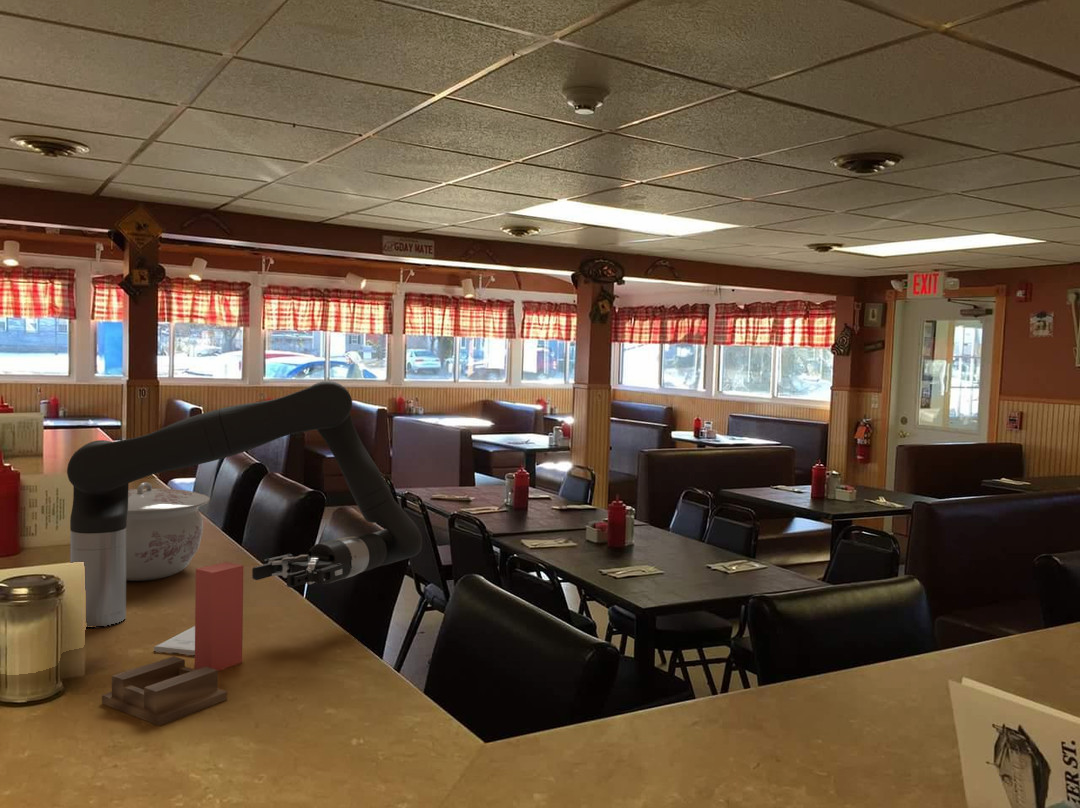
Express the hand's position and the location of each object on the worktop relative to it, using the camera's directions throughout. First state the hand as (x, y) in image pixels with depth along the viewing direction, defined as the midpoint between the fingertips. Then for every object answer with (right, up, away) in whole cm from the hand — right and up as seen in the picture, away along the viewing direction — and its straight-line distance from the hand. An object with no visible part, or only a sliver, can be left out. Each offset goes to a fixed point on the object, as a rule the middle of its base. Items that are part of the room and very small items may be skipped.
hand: (270, 577), depth 148 cm
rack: (-8, -13, -23) cm, 28 cm away
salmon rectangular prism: (-6, -13, -8) cm, 16 cm away
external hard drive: (-14, -12, +3) cm, 19 cm away
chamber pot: (-43, -9, +47) cm, 64 cm away
